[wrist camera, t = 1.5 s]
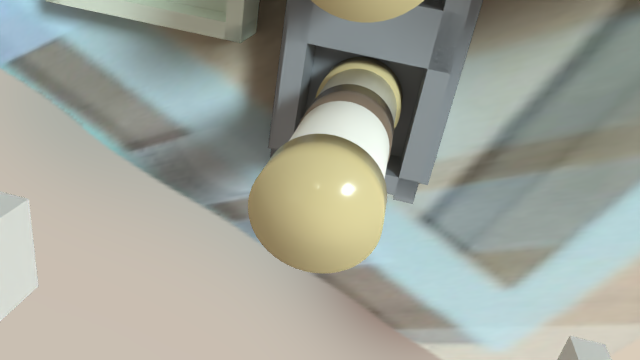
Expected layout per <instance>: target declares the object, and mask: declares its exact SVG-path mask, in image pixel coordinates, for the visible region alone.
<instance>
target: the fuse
mask: <svg viewBox="0 0 640 360" xmlns="http://www.w3.org/2000/svg"><path fill="white" fill-rule="evenodd" d="M311 1H312V2H313V3H315V4H316V5H317V6H318V7H320V8H321V9H323V10H324V11H326V12H328V13H329V14H331V15H334V16H336V17H338V18H341V19H345V20H348V21H354V22H361V23H372V22H380V21H385V20H389V19H392V18H395V17H398V16H400V15H402V14H405V13H406V12H408V11H410V10H412V9H413V8H415V7H416V6H418V5H419V4H420V3H421V2H423V1H424V0H311Z"/></svg>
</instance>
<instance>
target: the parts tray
mask: <svg viewBox="0 0 640 360" xmlns="http://www.w3.org/2000/svg"><path fill="white" fill-rule="evenodd" d="M46 1H47V2H52V3H57V4H61V5H66V6H71V7H75V8H80V9H85V10H89V11H94V12H99V13H103V14H108V15H113V16H117V17H122V18H127V19H131V20H136V21H141V22H145V23H150V24H155V25H159V26H164V27H169V28H173V29H178V30H183V31H187V32H192V33H197V34H201V35H206V36H211V37H215V38H220V39H225V40H229V41H234V42H239V43H241V42H243V41H244V40H246V39H247V38H249V37H251V36H252V35H254V34H255V33H256V30H257V20H258V10H259V1H260V0H46Z"/></svg>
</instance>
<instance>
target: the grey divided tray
mask: <svg viewBox="0 0 640 360" xmlns="http://www.w3.org/2000/svg"><path fill="white" fill-rule="evenodd" d="M482 2H483V0H424V1H423V2H421V3H420V4H419V5H418V6H416V7H415V8H413V9H412V10H410V11H408V12H406V13H405V14H402V15H400V16H398V17H395V18H392V19H389V20H385V21H380V22H372V23H361V22H354V21H348V20H345V19H341V18H338V17H336V16H334V15H331V14H329V13H328V12H326V11H324V10H323V9H321V8H320V7H318V6H317V5H316V4H315V3H313V2H312V1H311V0H287V3H286V11H285V19H284V27H283V35H282V43H281V51H280V59H279V67H278V75H277V83H276V91H275V98H274V106H273V114H272V122H271V130H270V138H269V146H268V148H271V157H272V155H273V154H274V153H275V152H276V151H277V150H278V149H279V148H280V147H281V146H282V145H284V144H285V143H286V142H288V141H289V140H290V138H291V137H292V135H293V134H294V132H295V131H296V129H297V127H298V124H299V123H300V121H301V119H302V118H303V116H304V114H305V113H306V111H307V110H308V108H309V107H310V105H311V104H312V102H313V101H314V100H315V98H316V94H317V91H318V88H319V86H320V85H321V83H322V81H323V80H324V78H325V77H326V75H327V74H328V73H329V71H330V70H331V69H332V68H333V67H334V66H335V65H337V64H338V63H340V62H341V61H343V60H346V59H348V58H352V57H370V58H373V59H376V60H379V61H381V62H382V63H384V64H386V65H387V66H388V67H389V68H390V69H391V70H392V71H393V72H394V73H395V75H396V76H397V78H398V80H399V82H400V85H401V88H402V95H403V98H402V107H401V113H400V118H399V121H398V123H397V125H396V127H395V129H394V135H393V141H392V147H391V152H390V158H389V161H388V164H387V168H386V173H385V183H386V187H387V193H388V194H392V195H394V196H393V199H394V200H398V201H402V202H407V203H411V204H413V201H414V198H415V194H416V191H417V187H418V184H419V183H421V184H425V185H428V182H429V179H430V176H431V172H432V169H433V166H434V162H435V159H436V156H437V152H438V149H439V146H440V142H441V139H442V136H443V132H444V129H445V126H446V122H447V119H448V116H449V112H450V109H451V106H452V102H453V99H454V96H455V92H456V89H457V85H458V82H459V79H460V75H461V72H462V69H463V65H464V62H465V59H466V55H467V52H468V49H469V45H470V42H471V39H472V35H473V32H474V29H475V25H476V22H477V19H478V15H479V12H480V9H481V5H482ZM271 157H270V158H271Z"/></svg>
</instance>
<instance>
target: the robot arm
mask: <svg viewBox="0 0 640 360" xmlns="http://www.w3.org/2000/svg"><path fill="white" fill-rule="evenodd" d="M37 287H38V277H37V268H36V260H35V251H34V242H33V234H32V224H31V215H30V206H29V199H27V198H23V197H20V196H16V195H12V194H7V193H4V192H0V321H1V320H2V319H3V318H4V317H5V316H6V315H8V314H9V313H10V312H11V311H12V310H13V309H14V308H15V307H16V306H17V305H18V304H20V303H21V302H22V301H23V300H24V299H25V298H26V297H27V296H28V295H29V294H31V293H32V292H33V291H34V290H35V289H36V288H37ZM557 360H612V359H611V357H610V355H609V352H608V350H607V348H606V345H605V344H601V343H597V342H593V341H589V340H585V339H581V338H577V337H573V336H570V337H569V339H568V340H567V342H566V344H565V346H564V348H563V350H562V352H561V354H560V356H559V358H558V359H557Z"/></svg>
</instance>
